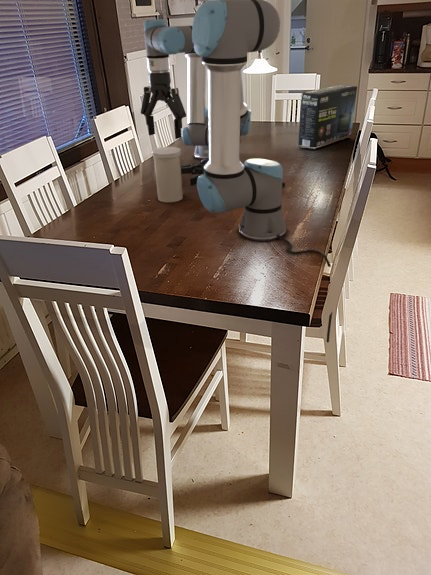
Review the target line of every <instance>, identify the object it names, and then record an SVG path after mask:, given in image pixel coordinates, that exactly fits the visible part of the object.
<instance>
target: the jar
mask: <svg viewBox="0 0 431 575" xmlns="http://www.w3.org/2000/svg"><path fill="white" fill-rule="evenodd" d="M181 164H182V163H181V155H180V156H178V157H174V158H167V159H161V158H155V157H153V165H154V174H155V183H156V184H155V185H156V194H157V200H158V201H160V202H162V203H176V202H179V201H182V200H183V199H184V191H183V190H184V189H183V176H182V175H183V174H181V166H182V165H181Z"/></svg>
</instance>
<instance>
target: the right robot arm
mask: <svg viewBox="0 0 431 575" xmlns="http://www.w3.org/2000/svg"><path fill="white" fill-rule="evenodd" d="M280 30H281V18H280V14H279V12H278V10H277V9H276V8H275V7H274V5H273V4H271V3H270V2H269V1H267V0H206V1H204V2H203V3H201V4H200V5H199V7H198V8H197V10H196V12H195V14H194V18H193V21H192V25H175V26H169V25H168V26H167V22H166V19H163V18H162V19H145V20H144V21H143V35H144V44H145V45H144V46H145V54H146V63H147V71H148V83H149V85H148V86H143V96H142V103H141V108H140V114H141V115H144V116H145V124H146V126H147V129H148V131H147V132H148V136H153V135H156V129H155V119H154V118H155V117H154V115H153V113H154V110H155V108H156V106H157V104H158V101H161V102H164V103H165V104H166V105H167V107H168V108H169V110H170V111H171V114H172V115H173V116H174V119H173V125H174V139H176V140H177V139H178V140H179V139H180V138H181V139H182V129H183V119H184V118H186V117H187V113H186V110H185V108H184V104H183V102H182V100H181V99H182V98H181V97H180V91H179V88H178V87H174V88H172V87H171V83H172V78H171V77H172V76H171V72H170V70H171V65H170V64H171V63H170V56H171V55H177V54H183V53H184V54H185V52H196V53H197V54H198V55H199V56H201V57H202V63H203V65H204V66H205V67H206V70H207V86H208V87H207V99H208V103H207V104H208V106H207V107H208V109H209V161H208V162H207V163H206V164H205V166H204V175H203V174H202V175H201V176H199V177H198V179H197V184H196V189H197V193H198V197H199V199H200V202H201V204H202V205H203V207H204V208H205V209H206V210H207V211H208V212H209V213H211V214H219V213H226V212H230V211H232V210H238V209H242V208H244V211H243V213H242V216H241V220H240V222H239V223H238V232H239V235H240V236H241V237H242V238H244V239H247V240H250V241H254V242H271V241H277V240H279V239H280V240H282V241H283V242H285V243H286V244H287V245H288V247H287V248H286V251H287V253H289V254H291V255H301V254H306V253H315V254H319V255H321V256H322V257H323V258H324V260H325V263H326V265H327V267H328V268H331V266H332V265H331V263H330V261H329V259H328V256H327V255H326V253H324V252H323V251H320V250H317V249H304V250H299V251H298V250H297V251H295V250H291V248H292V243H291V242H290V241H289V240H287V239H286V238H284V237H285V235H286V234H287V223H286V221H285V216H284V214H283V210H282V200H283V187H282V181H284V172H283V171H284V169H283V166H282V164H280V162H277V161H275V160H270V159H265V158H248V159H246V160H245V161H244V163H243V162H241V160H240V159H239V158H240V144H241V139H240V138H241V136H240V101H241V69H243V68H244V67H245V66H246V65H247V64H248V54H249V53H256V52H261V51H264V50H266V49H268V48H270V47H271V46H272V45H273V44H274V43H275V42H276V40H277V39H278V37H279V34H280ZM332 318H333V311H331V313H330V314H329V315H328V324H327V332H326V343H330V335H331V325H332V320H333V319H332Z"/></svg>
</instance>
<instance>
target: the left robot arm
mask: <svg viewBox="0 0 431 575" xmlns="http://www.w3.org/2000/svg"><path fill="white" fill-rule="evenodd" d="M184 57H185V58H186V60H187V61H186V63H187V65H186V66H187V68H186V69H187V72H186V73H187V75H186V77H187V79H186V80H187V83H186V84H187V85H186V86H187V90H186V92H187V100H186V101H187V126H185V127H182V130H181V136H182V137H181V140H182V143H183V145H185V146H192V147H195V148H194V151H193V152H194V153H193V157H194V158H195V160H198V161H200V162H199V163H197V164H194V162H191V163H188V164H183V165H181V175H186V174H191V175H195V176H192V177H190V178H189V183H190V184H189V185H190V187H191V186H195V185H197V179H198V177H199V176H201V175H204V166H205V164H206V163H207V162H208V161H209V109H208V106H206V84H207V83H206V81H207V80H206V79H207V78H206V76H207V74H206V73H207V72H206V71H207V68H206V67H205V66H204V65H203V63H202V57H201V56H199V55H198V54H197V53H196V52H185V53H184ZM242 69H243V68H242ZM242 69H241V101H240V137H241V136H247V135H248V134H249V132H250V127H251V117H252V110H251V109H250V108H248V105H247V104H246V103H245V99H244V98H245V97H244V88H243V87H244V83H243V70H242ZM240 158H241V157H239V160H240Z"/></svg>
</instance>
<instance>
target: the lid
mask: <svg viewBox="0 0 431 575" xmlns="http://www.w3.org/2000/svg"><path fill="white" fill-rule="evenodd" d="M181 155H182V149H181V148H180V147H176V146H161V147H156V148H153V149H152V150H151V156H152V157H153V158H154V157H155V158H161V159H167V158H174V157H178V156H180V157H181Z"/></svg>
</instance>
